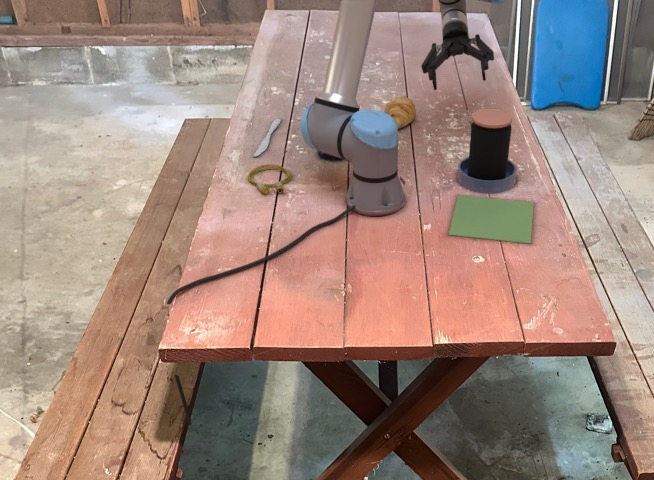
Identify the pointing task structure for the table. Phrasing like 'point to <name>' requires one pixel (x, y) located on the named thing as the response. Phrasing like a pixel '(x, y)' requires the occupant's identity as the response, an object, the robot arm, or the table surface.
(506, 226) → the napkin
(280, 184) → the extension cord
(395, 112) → the croissant
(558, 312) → the table surface
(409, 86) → the table surface
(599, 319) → the table surface
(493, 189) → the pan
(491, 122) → the coffee jar
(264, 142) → the butter knife
